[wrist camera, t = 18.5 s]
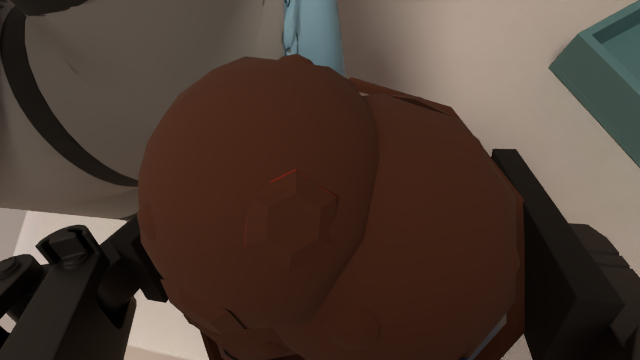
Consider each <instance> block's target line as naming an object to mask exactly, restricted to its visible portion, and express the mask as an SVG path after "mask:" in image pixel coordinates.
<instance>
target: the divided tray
mask: <svg viewBox="0 0 640 360" xmlns="http://www.w3.org/2000/svg"><path fill="white" fill-rule="evenodd" d="M549 69H550V70H551V71H552V72H553V73H554V74H555V75H556V76H557V77H558V79H559V80H560V81H561V82H562V83H563V84H564V85H565V86H566V87H567V88H568V90H569V91H570V92H571V93H572V94H573V95H574V96H575V97H576V98H577V99H578V100H579V102H580V103H581V104H582V105H583V106H584V107H585V108H586V109H587V110H588V111H589V112H590V114H591V115H592V116H593V117H594V118H595V119H596V120H597V121H598V122H599V123H600V125H601V126H602V127H603V128H604V129H605V130H606V131H607V132H608V133H609V134H610V135H611V137H612V138H613V139H614V140H615V141H616V142H617V143H618V144H619V145H620V146H621V147H622V149H623V150H624V151H625V152H626V153H627V154H628V155H629V156H630V157H631V158H632V159H633V161H634V162H635V163H636V164H637V165H638V166H639V167H640V0H638V1H636V2H635V3H633V4H631V5H629V6H627V7H626V8H624V9H622V10H620V11H618V12H616V13H615V14H613V15H611V16H609V17H607V18H605V19H604V20H602V21H600V22H598V23H596V24H595V25H593V26H591V27H589V28H587V29H586V30H584V31H582V32H580V33H578V34H577V35H576V37H575V38H574V39H573V40H572V41H571V42H570V43H569V45H568V46H567V47H566V48H565V49H564V50H563V52H562V53H561V54H560V55H559V56H558V57H557V58H556V60H555V61H554V62H553V63H552V64H551V65H550V66H549Z"/></svg>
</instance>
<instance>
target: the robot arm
mask: <svg viewBox="0 0 640 360" xmlns="http://www.w3.org/2000/svg"><path fill="white" fill-rule="evenodd" d="M292 54H299V55H301V56H303V57H305V58H307V59H309V60H311V61H312V62H313V63H314V65H320V66H328V67H330V68H332V69H333V70H335V71H336V72H338V73H339V74H341V75H342V76H344V77H345V78H346V76H345V65H344V54H343V45H342V36H341V28H340V19H339V12H338V5H337V0H0V208H10V209H21V210H30V211H40V212H49V213H59V214H69V215H79V216H89V217H99V218H109V219H119V220H125V221H127V223H126V224H125V225H123V226H122V227H121V228H120V229H119V230H117V231H116V232H115V233H114V234H113V235H111V236H110V237H109V238H108V239H107V240H105V241H104V242H103V243H102V244H100V245H99V244H98V243H97V241H96V240H95V238H94V237H93V235H92V234H91V232H90V231H89V229H88V228H87V227H86V226H85V225H73V226H69V227H66V228H63V229H60V230H58V231H56V232H54V233H52V234H50V235H48V236H47V237H45V238H44V239H42V240H41V241H40V242H39V243H38V244H37V245H36V246H35V247H36V248H37V249H38V250H39V251H40V253H41V254H42V255H43V256H44V257H45V259H46V260H47V261H48V262H49V263H50V264H44V265H40V264H39V263H38V262H37V260H36V259H35V258H34V257H33V256H31V255H30V254H22V255H18V256H13V257H10V258H8V259H5V260H3V261H1V262H0V319H1V318H2V317H3V315H4V314H5V313H6V314H7V315H8V316H9V317H10V318H12V319H13V320H14V321H15V322H16V325H15V327H14V328H13V330H12V332H11V333H8V332H7V331H5V330H4V329H3V328H2V327H1V326H0V360H123V359H124V355H125V351H126V347H127V343H128V338H129V334H130V330H131V326H132V322H133V318H134V314H135V310H136V299H135V298H134V296H133V295H134V294H135V293H136V292H137V291H138V290H139V289H141V290H142V292H143V293H144V295H145V297H146V298H147V299H148V300H153V301H159V302H164V303H166V302H167V300H168V296H167V294H166V292H165V289H164V287H163V285H162V283H161V280H160V279H163V280H164V278H163V277H162V276H161V275H160V273H159V272H158V271H157V269H156V268H155V266H154V264H153V262H152V261H151V259H150V257H149V256H148V254H147V252H146V250H145V249H144V247H143V245H142V243H141V236H140V227H139V223H138V219H137V212H138V210H139V203H138V179H139V171H140V167H141V164H142V160H143V156H144V153H145V149H146V145H147V142H148V140H149V139H150V137H151V135H152V134H153V132H154V130H155V129H156V127H157V125H158V124H159V122H160V120H161V119H162V117H163V115H164V114H165V113H166V111H167V110H168V109H169V107H170V106H171V105H172V103H173V102H174V101H175V99H176V98H177V97H178V95H179V94H180V93H182V92H183V91H184V90H186V89H187V88H188V87H190V86H191V85H192V84H194V83H195V82H197V81H198V80H199V79H201V78H202V77H203V76H205V75H206V74H207V73H209V72H210V71H211V70H213V69H215V68H217V67H220V66H222V65H225V64H227V63H230V62H232V61H235V60H237V59H240V58H242V57H245V56H248V57H256V58H265V59H274V60H278V59H280V58H281V57H282V56H287V55H292ZM491 158H492V160H493V161H494V162H495V163H496V165H497V166H498V167H499V168H500V170H501V171H502V172H503V173H504V175H505V176H506V177H507V179H508V180H509V181H510V182H511V184H512V185H513V186H514V187H515V189H516V190H517V191H518V192H519V194H520V195H521V196H522V198H523V199H524V202H523V214H524V239H525V332H524V336H525V339H526V342H527V345H528V348H529V350H530V353H531V356H532V359H533V360H640V278H639V276H638V275H637V274H636V273H635V272H634V270H633V269H630V268H629V266H630V265H629V264H628V263H627V262H626V261H625V259H624V258H623V257H622V256H619V252H618V251H617V250H616V248H615V247H614V246H613V245H612V244H611V242H610V241H609V240H608V239H607V238H606V237H605V236H603V235H602V234H600V233H599V232H598V231H596V230H595V229H593V228H592V227H590V226H589V225H586V224H571V223H568V222H567V221H566V219H565V218H564V217H563V215H562V214H561V212H560V211H559V210H558V208H557V207H556V205H555V204H554V202H553V201H552V200H551V198H550V197H549V195H548V194H547V193H546V191H545V190H544V188H543V187H542V186H541V184H540V183H539V181H538V180H537V178H536V177H535V176H534V174H533V173H532V171H531V170H530V169H529V167H528V166H527V164H526V163H525V162H524V160H523V159H522V157H521V156H520V154H519V153H518V152H517V150H516V149H493V152H492V156H491Z"/></svg>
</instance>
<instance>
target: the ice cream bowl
mask: <svg viewBox="0 0 640 360" xmlns="http://www.w3.org/2000/svg"><path fill="white" fill-rule="evenodd" d="M523 202H524V199H523V198H522V196H521V195H520V194H519V192H518V191H517V190H516V189H515V187H514V186H513V185H512V184H511V182H510V181H509V180H508V179H507V177H506V176H505V175H504V173H503V172H502V171H501V170H500V168H499V167H498V166H497V165H496V163H495V162H494V161H493V160H492V158H491V157H490V156H489V154H488V153H487V152H486V151H485V149H484V148H483V146H482V145H481V143H480V141H479V140H478V139H477V138H476V137H475V136H474V135H473V134H472V133H471V132H470V130H469V129H468V128H467V127H466V125H465V124H464V123H463V121H462V120H461V119H460V118H459V116H458V115H457V114H456V113H455V111H454V110H453V109H452V108H451V107H449V106H446V105H442V104H439V103H436V102H432V101H429V100H426V99H423V98H421V97H416V96H412V95H409V94H405V93H402V92H399V91H395V90H392V89H389V88H385V87H382V86H379V85H375V84H372V83H369V82H365V81H362V80H358V79H355V78H350V79H346V78H345V77H344V76H342V75H341V74H339V73H338V72H336V71H335V70H333V69H332V68H330V67H328V66H320V65H314V63H313V62H312V61H311V60H309V59H307V58H305V57H303V56H301V55H299V54H292V55H287V56H282V57H281V58H280V59H278V60H274V59H265V58H256V57H248V56H245V57H242V58H240V59H237V60H235V61H232V62H230V63H227V64H225V65H222V66H220V67H217V68H215V69H213V70H211V71H210V72H209V73H207V74H206V75H205V76H203V77H202V78H201V79H199V80H198V81H197V82H195V83H194V84H192V85H191V86H190V87H188V88H187V89H186V90H184V91H183V92H182V93H180V94H179V95H178V97H177V98H176V99H175V101H174V102H173V103H172V105H171V106H170V107H169V109H168V110H167V111H166V113H165V114H164V115H163V117H162V119H161V120H160V122H159V124H158V125H157V127H156V129H155V130H154V132H153V134H152V135H151V137H150V139H149V140H148V142H147V145H146V149H145V153H144V156H143V160H142V164H141V167H140V171H139V179H138V203H139V210H138V212H137V219H138V223H139V227H140V236H141V243H142V245H143V247H144V249H145V250H146V252H147V254H148V256H149V257H150V259H151V261H152V262H153V264H154V266H155V268H156V269H157V271H158V272H159V273H160V275H161V276H162V277H163V278H164V280H163V279H160V280H161V283H162V285H163V287H164V289H165V292H166V294H167V296H168V299H169V301H170V303H172V304H173V305H174V306H175V307H176V308H177V309H178V310H180V311H181V312H182V313H183V314H184V317H185V318H186V319H187V321H188V322H189V323H190V324H192V325H194V326H195V327H196V328H198V329H199V330H200V332H201V335H202V339H203V342H204V345H205V348H206V351H207V354H208V357H209V360H500V359H501V358H502V357H503V356H504V355H505V353H506V352H507V351H508V350H509V349H510V348H511V347H512V346H513V345H514V343H515V342H516V341H517V340H518V339H519V338H520V337H521V336H522V335H523V333H524V332H525V239H524V214H523Z"/></svg>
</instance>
